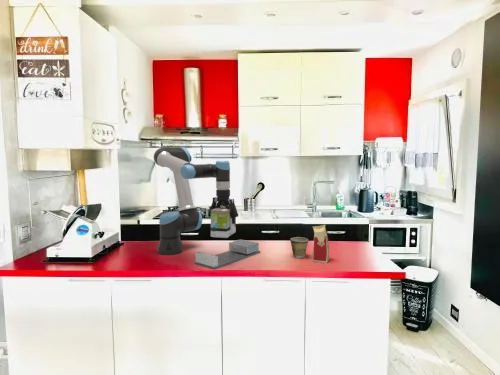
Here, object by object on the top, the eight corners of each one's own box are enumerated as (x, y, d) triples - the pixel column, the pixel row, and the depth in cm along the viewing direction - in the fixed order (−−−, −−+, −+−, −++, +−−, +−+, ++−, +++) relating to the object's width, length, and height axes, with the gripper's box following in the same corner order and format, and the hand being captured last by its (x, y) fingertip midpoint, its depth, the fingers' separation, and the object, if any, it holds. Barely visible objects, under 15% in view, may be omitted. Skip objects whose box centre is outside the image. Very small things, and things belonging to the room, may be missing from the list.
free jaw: (229, 250, 208) (229, 242, 207) (240, 246, 216) (240, 239, 215) (247, 254, 199) (247, 246, 199) (258, 250, 207) (258, 242, 207)
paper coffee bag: (329, 258, 196) (330, 223, 194) (327, 263, 187) (328, 226, 186) (313, 256, 199) (313, 222, 197) (310, 261, 190) (310, 225, 188)
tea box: (228, 238, 184) (227, 210, 183) (210, 237, 187) (209, 209, 185) (236, 232, 199) (236, 206, 197) (219, 231, 201) (219, 205, 200)
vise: (195, 263, 188) (194, 252, 187) (241, 248, 217) (240, 238, 217) (215, 269, 178) (215, 257, 178) (260, 252, 208) (260, 242, 207)
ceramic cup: (306, 259, 194) (306, 241, 193) (288, 258, 197) (288, 240, 196) (310, 253, 206) (310, 236, 205) (293, 251, 209) (293, 235, 208)
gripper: (202, 188, 195) (203, 226, 197) (235, 191, 180) (235, 232, 182) (211, 187, 201) (212, 224, 203) (244, 189, 186) (245, 229, 188)
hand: (223, 228), depth 192 cm, fingers closed on tea box, 12 cm apart
